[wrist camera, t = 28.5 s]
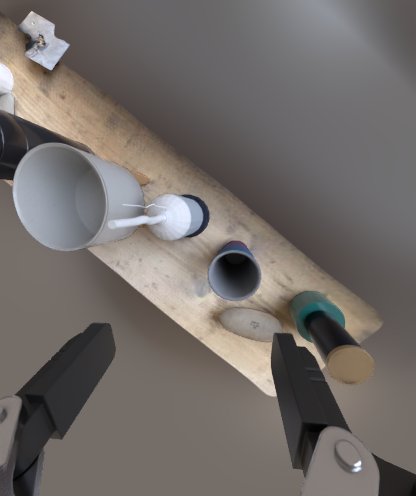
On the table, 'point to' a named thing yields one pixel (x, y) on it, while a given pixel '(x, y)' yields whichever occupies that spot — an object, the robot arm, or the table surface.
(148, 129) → the table surface
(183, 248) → the table surface
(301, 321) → the squat tin
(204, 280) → the table surface
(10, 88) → the white cylinder
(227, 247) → the cup
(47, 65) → the diorama
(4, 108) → the arrowhead
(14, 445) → the robot arm
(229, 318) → the stone
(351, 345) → the tall tin
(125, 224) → the white tall piece
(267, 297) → the table surface
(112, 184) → the planter
